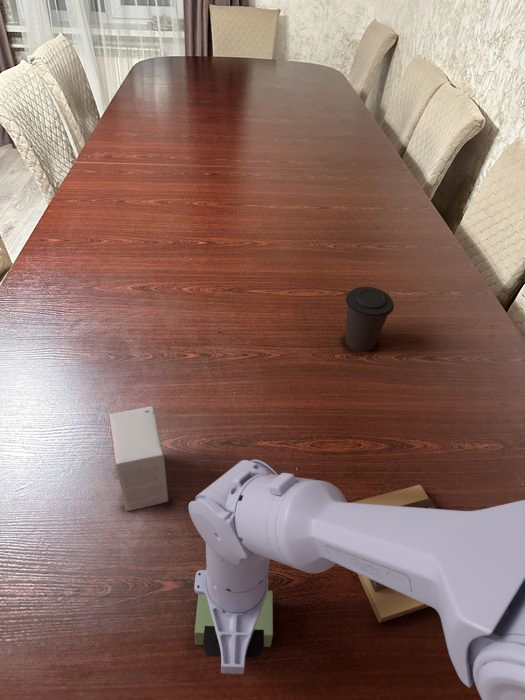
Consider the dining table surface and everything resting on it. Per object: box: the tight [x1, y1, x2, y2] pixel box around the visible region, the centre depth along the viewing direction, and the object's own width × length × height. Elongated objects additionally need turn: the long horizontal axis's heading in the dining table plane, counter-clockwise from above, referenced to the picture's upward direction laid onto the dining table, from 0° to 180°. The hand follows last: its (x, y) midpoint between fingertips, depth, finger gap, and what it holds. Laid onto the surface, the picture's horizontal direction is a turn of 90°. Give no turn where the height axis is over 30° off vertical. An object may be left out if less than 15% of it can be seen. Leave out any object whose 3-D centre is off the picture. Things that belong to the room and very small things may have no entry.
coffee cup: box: [344, 286, 395, 352], centre depth 90 cm, size 8×8×10 cm
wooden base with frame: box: [350, 484, 438, 624], centre depth 64 cm, size 14×13×3 cm
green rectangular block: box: [194, 590, 274, 648], centre depth 56 cm, size 4×8×4 cm, turn 90°
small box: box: [108, 405, 169, 512], centre depth 66 cm, size 8×6×10 cm
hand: (234, 618), depth 56 cm, fingers open, 6 cm apart
